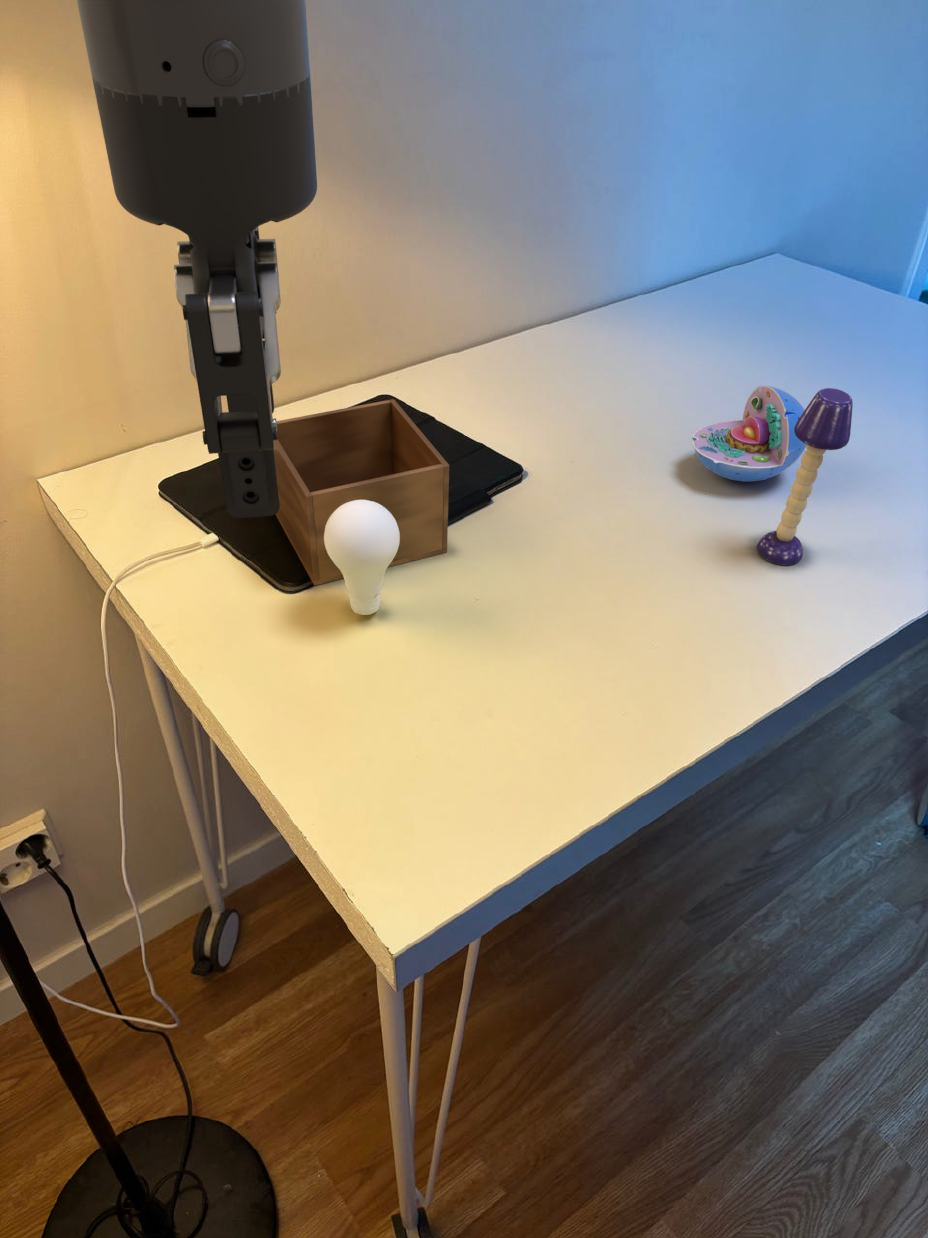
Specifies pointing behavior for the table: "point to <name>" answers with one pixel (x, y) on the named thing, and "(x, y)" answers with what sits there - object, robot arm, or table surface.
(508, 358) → the table surface
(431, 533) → the box
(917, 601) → the table surface
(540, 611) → the table surface
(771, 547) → the toy lamp
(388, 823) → the table surface
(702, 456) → the cell model
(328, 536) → the lightbulb
